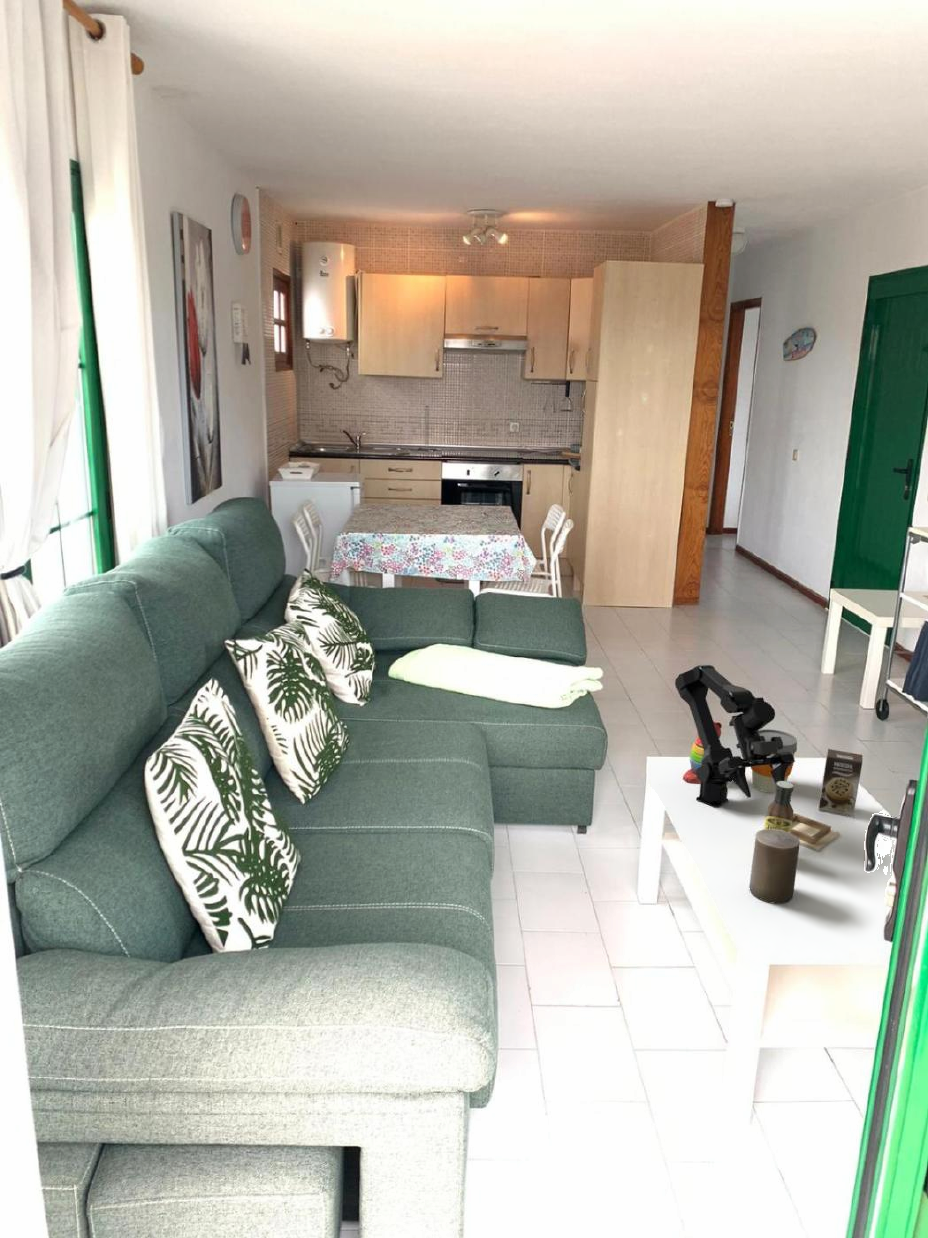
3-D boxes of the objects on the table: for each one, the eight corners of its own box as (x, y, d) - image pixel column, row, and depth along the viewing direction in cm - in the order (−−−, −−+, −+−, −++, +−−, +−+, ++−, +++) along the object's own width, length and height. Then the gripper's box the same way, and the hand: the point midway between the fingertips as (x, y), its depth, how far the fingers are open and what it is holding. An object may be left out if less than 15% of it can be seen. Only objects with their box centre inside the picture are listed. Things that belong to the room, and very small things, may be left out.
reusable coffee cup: (797, 796, 270) (804, 746, 266) (752, 794, 270) (758, 745, 266) (783, 777, 282) (790, 729, 278) (740, 776, 282) (746, 728, 278)
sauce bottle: (758, 861, 234) (768, 786, 228) (761, 850, 239) (770, 776, 234) (786, 867, 232) (796, 791, 226) (788, 855, 237) (798, 781, 232)
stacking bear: (681, 781, 277) (686, 723, 272) (690, 768, 286) (696, 712, 281) (718, 790, 272) (725, 731, 268) (726, 777, 281) (733, 720, 276)
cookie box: (818, 811, 261) (826, 756, 257) (819, 801, 267) (826, 747, 263) (854, 818, 258) (862, 762, 254) (854, 808, 264) (862, 753, 260)
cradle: (765, 831, 249) (766, 824, 248) (789, 816, 258) (790, 809, 257) (817, 851, 239) (818, 844, 239) (840, 834, 248) (841, 827, 248)
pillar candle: (795, 906, 215) (804, 845, 211) (750, 900, 216) (758, 840, 213) (789, 884, 224) (797, 825, 220) (746, 879, 226) (753, 820, 222)
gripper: (730, 728, 237) (747, 789, 230) (796, 722, 241) (815, 782, 235) (710, 743, 246) (726, 802, 239) (774, 738, 251) (792, 796, 244)
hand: (765, 795), depth 239 cm, fingers open, 9 cm apart
